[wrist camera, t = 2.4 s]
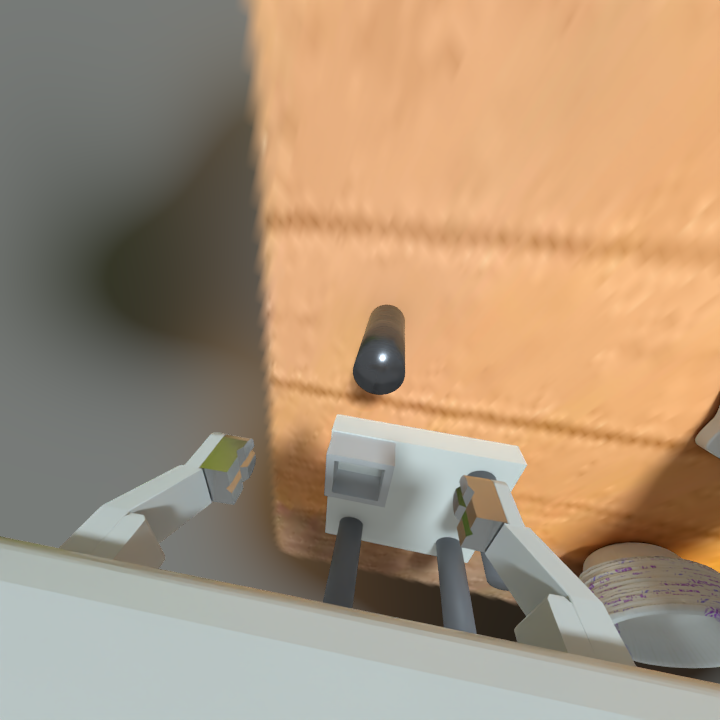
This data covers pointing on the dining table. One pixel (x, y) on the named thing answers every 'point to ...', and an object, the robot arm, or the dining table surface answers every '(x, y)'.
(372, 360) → the stool leg
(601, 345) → the dining table surface
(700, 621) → the paper bowls
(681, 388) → the dining table surface
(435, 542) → the stool seat
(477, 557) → the dining table surface
